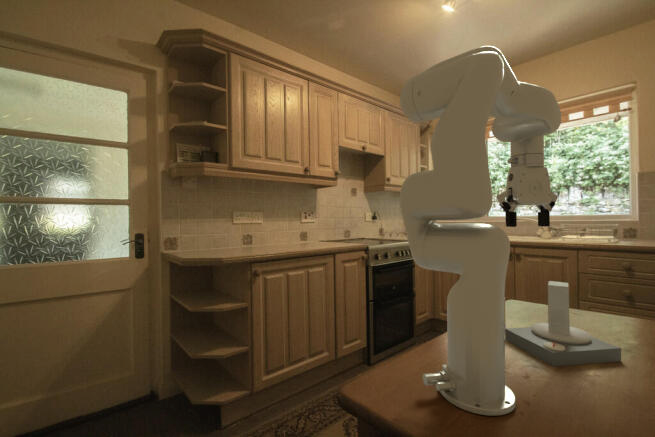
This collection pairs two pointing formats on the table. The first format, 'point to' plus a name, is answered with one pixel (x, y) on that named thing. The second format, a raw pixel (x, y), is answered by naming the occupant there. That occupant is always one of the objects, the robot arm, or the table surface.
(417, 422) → the table surface
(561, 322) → the skincare box
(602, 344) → the kitchen scale
